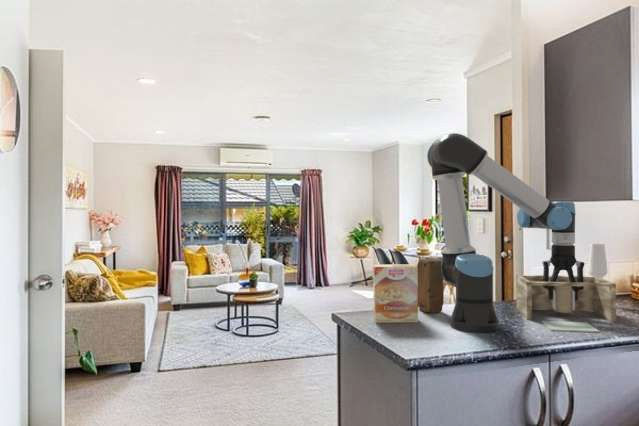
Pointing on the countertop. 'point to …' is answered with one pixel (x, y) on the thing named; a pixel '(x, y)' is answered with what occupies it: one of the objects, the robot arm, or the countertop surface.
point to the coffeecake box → (395, 293)
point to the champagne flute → (597, 260)
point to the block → (430, 285)
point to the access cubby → (592, 298)
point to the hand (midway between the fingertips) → (562, 308)
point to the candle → (563, 299)
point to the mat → (569, 326)
